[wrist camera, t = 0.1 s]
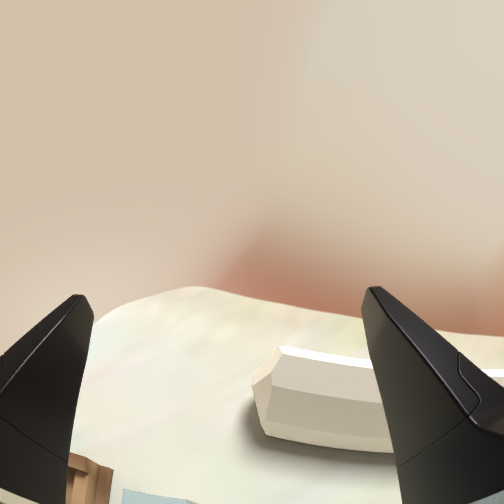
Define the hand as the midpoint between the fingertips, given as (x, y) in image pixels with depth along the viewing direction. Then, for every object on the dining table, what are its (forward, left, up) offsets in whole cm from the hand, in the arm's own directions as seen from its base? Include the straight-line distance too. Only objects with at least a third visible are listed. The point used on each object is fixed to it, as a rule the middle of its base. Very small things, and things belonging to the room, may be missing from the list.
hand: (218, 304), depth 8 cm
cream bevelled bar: (+2, -12, -17) cm, 21 cm away
